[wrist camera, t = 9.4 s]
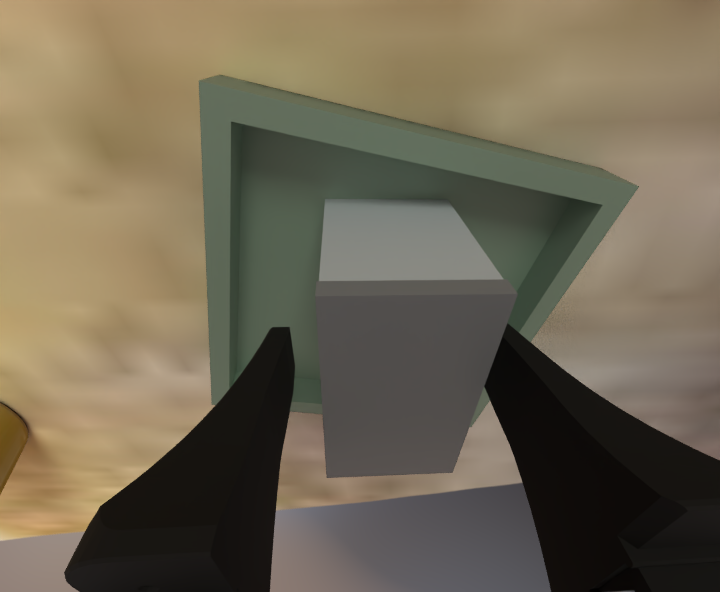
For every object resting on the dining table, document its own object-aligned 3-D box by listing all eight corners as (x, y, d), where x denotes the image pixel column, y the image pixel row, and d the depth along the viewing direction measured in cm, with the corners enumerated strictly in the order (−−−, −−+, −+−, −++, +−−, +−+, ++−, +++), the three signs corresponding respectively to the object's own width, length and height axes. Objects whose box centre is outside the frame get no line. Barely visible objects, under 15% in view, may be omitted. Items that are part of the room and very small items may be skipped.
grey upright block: (449, 198, 13) (518, 293, 8) (420, 353, 18) (452, 472, 13) (323, 197, 12) (315, 296, 8) (329, 355, 17) (326, 478, 12)
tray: (601, 168, 13) (638, 186, 11) (460, 397, 21) (471, 427, 19) (220, 74, 11) (198, 80, 9) (222, 372, 18) (211, 404, 17)
